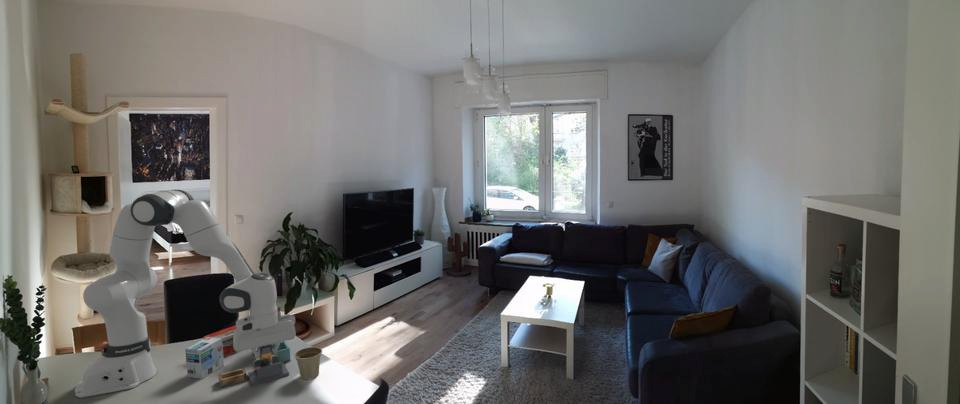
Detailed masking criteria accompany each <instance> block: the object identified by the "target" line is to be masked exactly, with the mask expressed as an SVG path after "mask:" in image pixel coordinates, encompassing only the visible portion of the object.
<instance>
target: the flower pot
mask: <svg viewBox="0 0 960 404" xmlns="http://www.w3.org/2000/svg"><path fill="white" fill-rule="evenodd" d="M322 353H323V349H322V348H321V347H318V346H310V347H305V348H301V349H299V350H297V351H296V352H295V353H294V354H293V356H294V358H295V360H296V363H297V365H298V371H299V376H300V378H301V379H305V380H310V379H314V378H316V377H317V376H319V374H320V364H321V358H322V357H321V356H322Z"/></svg>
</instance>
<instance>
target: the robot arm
mask: <svg viewBox="0 0 960 404" xmlns="http://www.w3.org/2000/svg"><path fill="white" fill-rule="evenodd" d="M171 223H173V224H174V225H175V224H176V225H177V226H178V227H179V228H180V229H181V231H182V233H183V234H184V237H185V238H186V241H187V243H188V244H189V246H190V247H191V249H192V250H193V251H194V252H195V253H196V254H198V255H200V256H204V257H210V258H211V257H213V258H216V259H219V260H220V261H222V262H223V264H225V266H226V268H227V269H228V271H229V272H230V274H231V275H232V276H233V279H234V281H235V282H234V283H233V284H230V285H229V286H227V287H226V288H224V289H223V290H222V291H221V293H220V294H219V303H220V306H221V308H222V309H223V310H224V311H226V312H228V313H230V314H237V313H242V312H246V311H248V312H249V314H248V315H246V316H244V317H242V318H240V319H237V320H236V322H235V325H236V327H237V328H236V330H235V331H234V336H233V348H234V350H235V351H237V352H242V351H246V350H250V349H251V352H253V354H254V357H255V360H257V359H259V358H260V352H258V351H257V347H260V346H265V345H269V344H273V343H275V347H274V349H272V355H275V354H277V349H278V347H279V345H280V342H282V341H285V342H287V341H290V340H294V339H295V338H296V335H297V333H296V327H295V324H296V317H295V315H293V314H291V313H288V314H285V315H284V314H283V315H282V314H281V316H278V312H277V307H278V306H277V299H278V296H277V295H278V294H277V286H276V282H275V281H276V280H275V278H274V277H273V276H272V275H270V274H268V273H263V272H262V273H261V272H260V273H255V272H254V271H253V270H252V268H251V266H250V265H249V264H248V262H247V260H246V259H245V257H244V256H243V255H242V253H241V251H240V250H239V247H237V246H236V244H235V243H234V242H233V241H232V240H231V239H230V237H228V235H227V234H226V232H225V230H224V229H223V227H222V225H221V223H220V221H219V219H218V218H217V216H216V215H215V213H214V211H213V210H212V209H211V208H210V206H209V205H208V203H206V202H205V201H204V200H202V199H194V196H192V195H191V194H190V193H189V192H187V191H185V190H181V189H171V190H169V189H167V190H159V191H157V192H153V193H148V194H147V193H146V194H143V195H141V196H139V197H138V198H136V199H135V200H133V202H131V203H129V204H126V205H124V206H123V207H122V208H121V209H120V211H119V214H118V216H117V218H116V221H115V225H114V228H113V232H112V237H111V242H110V246H109V257H110V258H111V259H112V260H114V261H115V263H116V271H115V272H114V273H112V274H109V275H105V276H103V277H101V278H98V279H96V280H95V281H94V282H92V283H91V284H89V285H87V286H86V287H85V288H84V291H83V293H82V294H83V295H82V299H83V301H84V304H85V305H86V306H87V307H88V308H89V309H90V310H92V311H96V312H97V313H98V314H99V315H100V316H101V317H102V319H103V321H104V324H105V329H106V336H107V341H103V342H101V344H100V351H101V352H100V353H101V355H100V356H99V358H97V359H96V360H94V362H92V363H91V364H89V366H88V367H86V369H85V370H84V373H83V377H82V380H81V381H79V383H78V384H76V386H75V389H74V395H75V397H76V398H79V399H80V398H81V399H82V398H87V397H88V398H89V397H92V396H99V395H104V394H109V393H115V392H119V391H125V390H131V389H133V388H136V387H137V386H139V384H141V383H144V382H146V381H147V380H148V381H149V379H151V378H153V377H154V376H155V375H156V374H157V373H158V370H157V368H156V366H155V364H154V362H153V359H152V355H151V349H152V347H151V338H150V335H149V334H148V325H147V317H146V315H145V314H144V313H143V312H142V311H138V310H137V309H136V307H135V305H134V300H135V299H138V298H139V297H142V296H144V295H146V294H147V293H149V292H150V291H151V290H152V289H154V287H156V285H157V283H158V275H157V272H156V271H155V270H154V269H153V268H151V264H150V253H151V248H152V243H153V237H154V232H155V228H156V227H158V226H167V225H170V224H171ZM237 352H236V353H237Z"/></svg>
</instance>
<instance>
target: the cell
mask: <svg viewBox="0 0 960 404" xmlns="http://www.w3.org/2000/svg"><path fill="white" fill-rule="evenodd" d="M271 364H273V355H272V344H269V345H265V346H260V365H261V367H263V366H267V365H271Z"/></svg>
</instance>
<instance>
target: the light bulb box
mask: <svg viewBox="0 0 960 404" xmlns="http://www.w3.org/2000/svg"><path fill="white" fill-rule="evenodd" d="M184 351H185V361H186V364H185V365H186V371H187V372H186V373H187V375H186V376H187V378H196V379H205V378H206V377H207V376H209V375H211V374H212V373H214V372H216V371H218V370H219V369H221V368H222V367H224V366H225V362H224V357H223V345H222V339H221V338H211V337H207V338H205V339H203V338H202V339H201V340H200V341H197V342H196V343H194V344H192V345H190V346H188V347H186V348H185V349H184Z"/></svg>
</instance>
